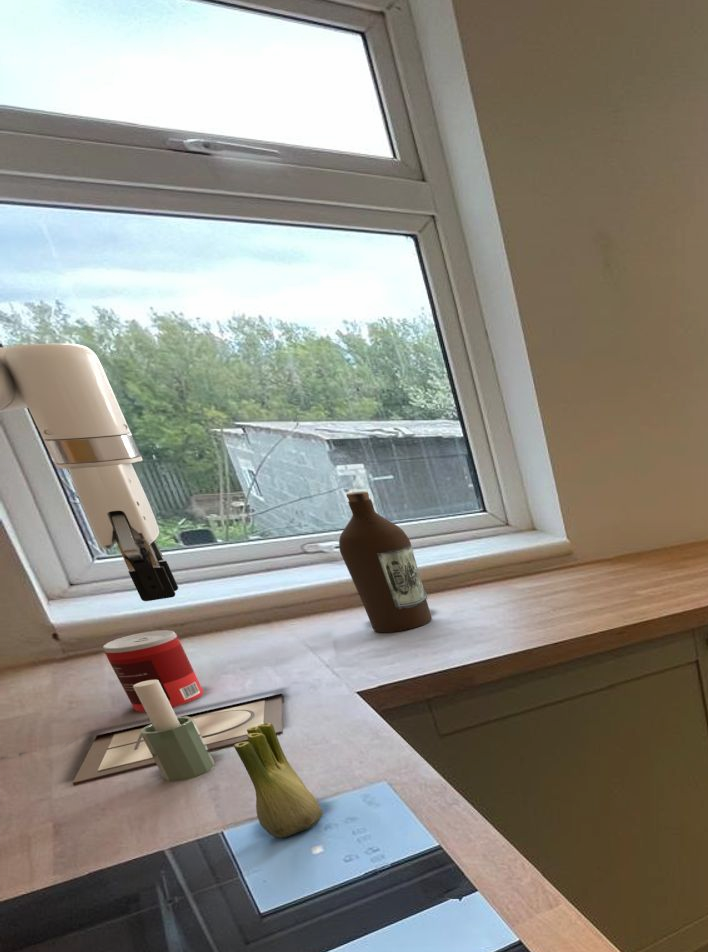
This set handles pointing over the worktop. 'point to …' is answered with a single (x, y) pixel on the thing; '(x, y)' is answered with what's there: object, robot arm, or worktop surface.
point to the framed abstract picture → (214, 726)
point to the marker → (156, 705)
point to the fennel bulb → (276, 785)
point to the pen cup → (179, 750)
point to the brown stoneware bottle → (383, 568)
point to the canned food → (153, 666)
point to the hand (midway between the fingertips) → (160, 594)
